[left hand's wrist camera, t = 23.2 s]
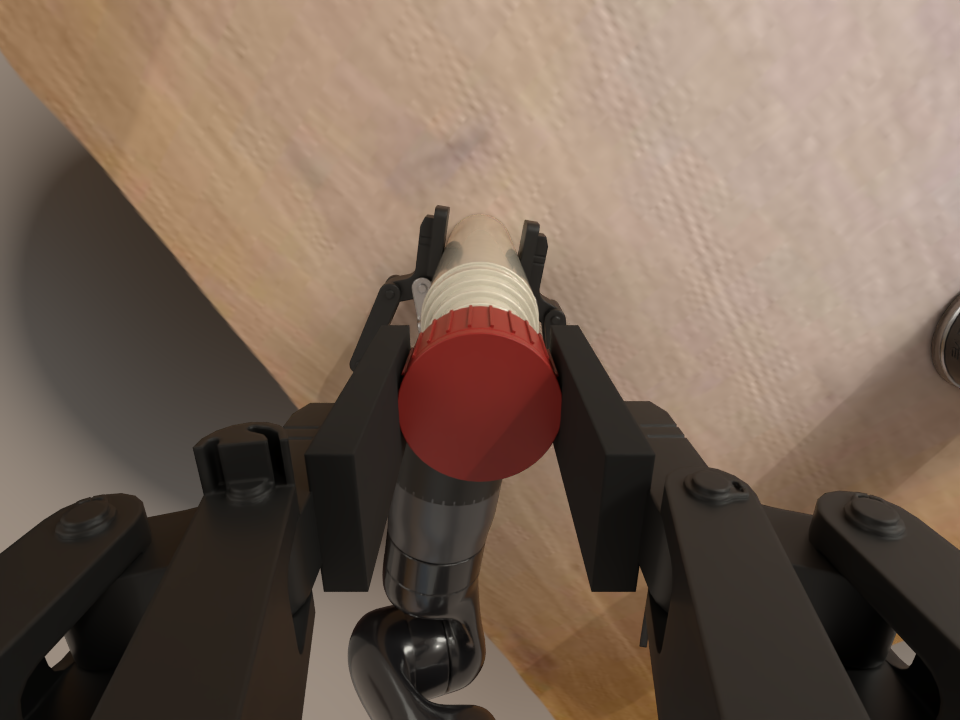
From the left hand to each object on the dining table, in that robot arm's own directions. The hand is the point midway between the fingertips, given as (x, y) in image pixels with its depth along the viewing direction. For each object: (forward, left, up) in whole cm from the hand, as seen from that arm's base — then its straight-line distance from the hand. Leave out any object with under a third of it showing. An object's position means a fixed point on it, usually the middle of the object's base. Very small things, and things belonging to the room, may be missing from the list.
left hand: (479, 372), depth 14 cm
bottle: (0, 0, -23) cm, 23 cm away
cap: (0, 0, +2) cm, 2 cm away
